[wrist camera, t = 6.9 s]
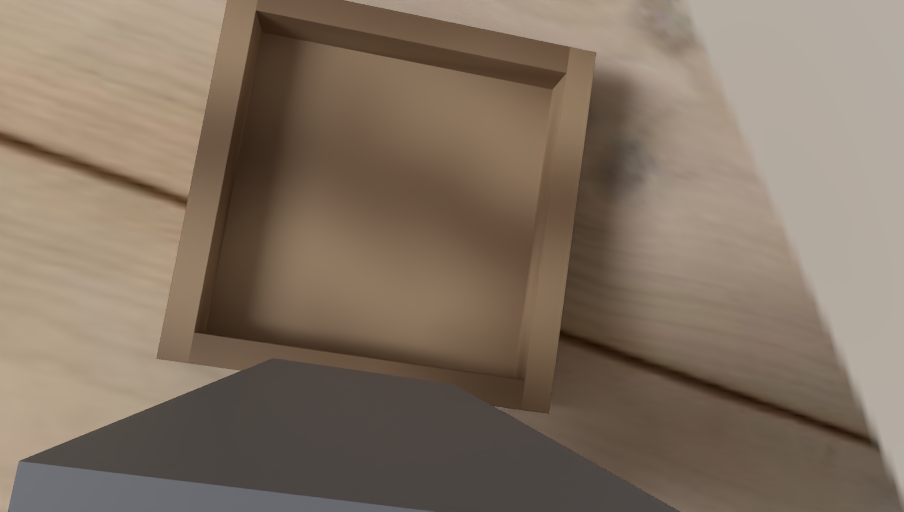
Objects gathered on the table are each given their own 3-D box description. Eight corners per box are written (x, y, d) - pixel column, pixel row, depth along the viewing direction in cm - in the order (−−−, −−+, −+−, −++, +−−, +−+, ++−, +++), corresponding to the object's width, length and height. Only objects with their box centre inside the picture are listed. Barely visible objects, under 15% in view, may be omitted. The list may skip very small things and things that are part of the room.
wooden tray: (527, 404, 22) (549, 413, 20) (178, 354, 21) (156, 358, 19) (570, 81, 24) (596, 52, 21) (245, 16, 22) (231, -23, 20)
